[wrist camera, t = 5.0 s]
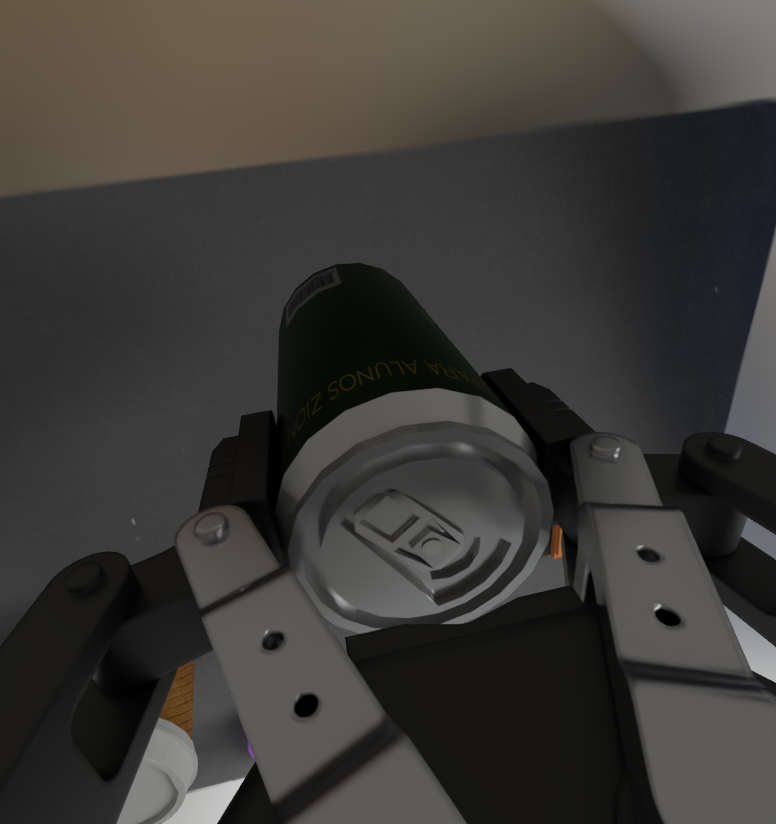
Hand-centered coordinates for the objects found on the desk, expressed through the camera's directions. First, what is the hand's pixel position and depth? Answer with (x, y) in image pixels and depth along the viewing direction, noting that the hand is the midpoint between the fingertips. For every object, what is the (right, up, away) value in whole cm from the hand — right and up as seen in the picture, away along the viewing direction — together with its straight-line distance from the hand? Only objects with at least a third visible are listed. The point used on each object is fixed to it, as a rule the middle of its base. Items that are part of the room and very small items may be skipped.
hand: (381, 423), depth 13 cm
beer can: (-1, +4, +7) cm, 8 cm away
